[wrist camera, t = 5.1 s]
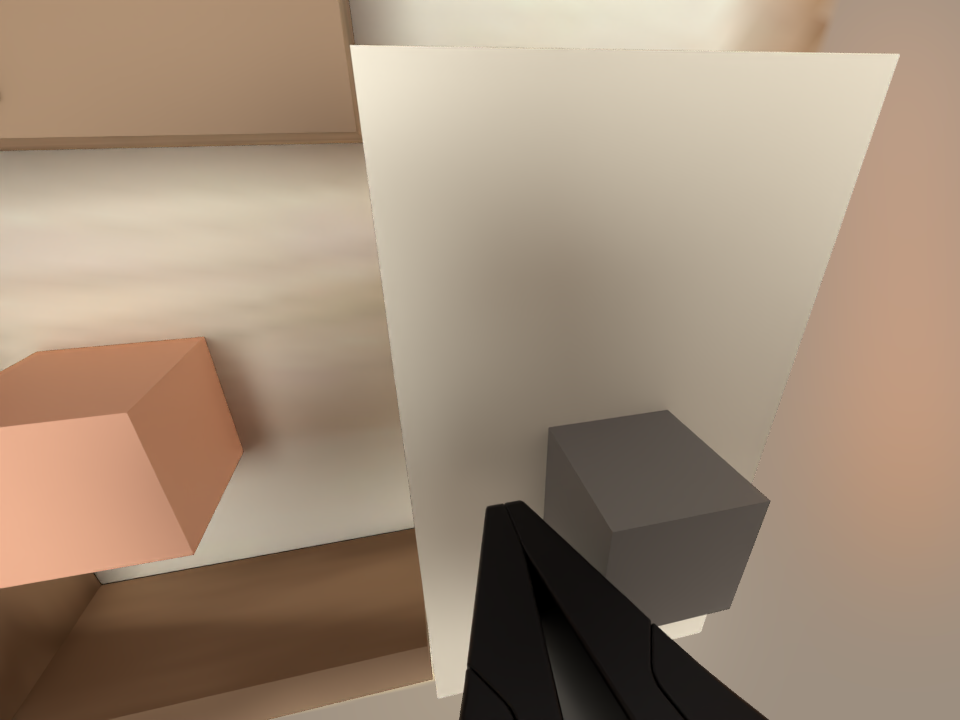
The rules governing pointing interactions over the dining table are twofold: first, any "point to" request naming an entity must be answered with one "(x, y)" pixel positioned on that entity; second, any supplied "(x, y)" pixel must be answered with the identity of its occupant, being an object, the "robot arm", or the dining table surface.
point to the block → (110, 457)
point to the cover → (601, 296)
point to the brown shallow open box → (238, 584)
